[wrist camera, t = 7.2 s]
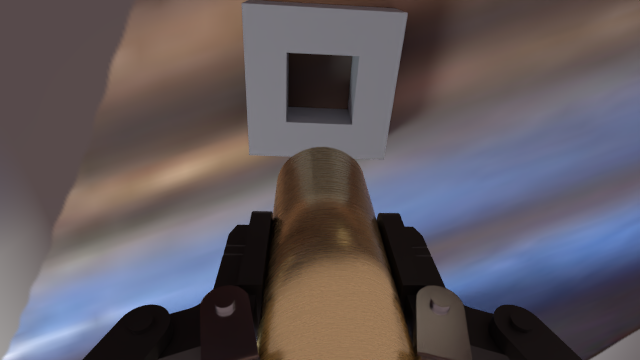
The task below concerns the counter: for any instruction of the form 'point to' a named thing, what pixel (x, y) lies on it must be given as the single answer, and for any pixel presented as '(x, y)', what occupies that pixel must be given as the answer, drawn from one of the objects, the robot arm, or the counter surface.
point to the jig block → (329, 39)
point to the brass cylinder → (328, 268)
